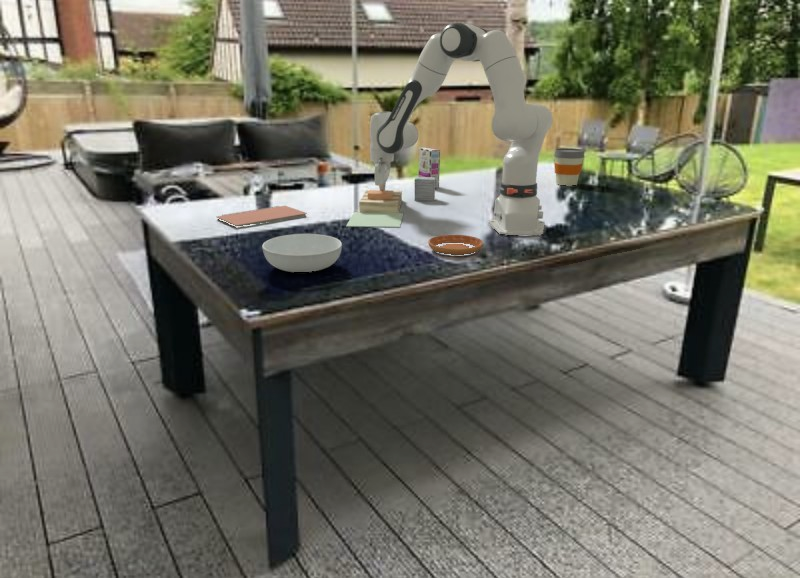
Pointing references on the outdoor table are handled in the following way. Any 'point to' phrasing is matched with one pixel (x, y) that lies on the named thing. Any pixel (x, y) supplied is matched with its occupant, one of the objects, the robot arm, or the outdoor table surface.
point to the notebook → (262, 215)
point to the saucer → (455, 248)
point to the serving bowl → (302, 252)
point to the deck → (381, 203)
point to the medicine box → (424, 189)
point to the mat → (375, 219)
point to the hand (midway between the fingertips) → (382, 193)
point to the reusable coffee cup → (568, 165)
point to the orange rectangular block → (380, 194)
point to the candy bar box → (429, 164)
